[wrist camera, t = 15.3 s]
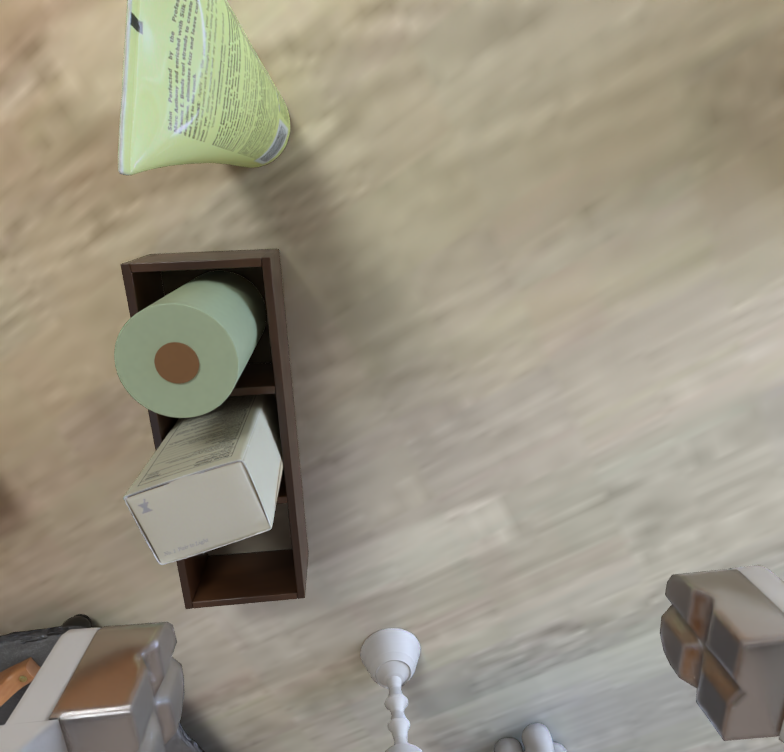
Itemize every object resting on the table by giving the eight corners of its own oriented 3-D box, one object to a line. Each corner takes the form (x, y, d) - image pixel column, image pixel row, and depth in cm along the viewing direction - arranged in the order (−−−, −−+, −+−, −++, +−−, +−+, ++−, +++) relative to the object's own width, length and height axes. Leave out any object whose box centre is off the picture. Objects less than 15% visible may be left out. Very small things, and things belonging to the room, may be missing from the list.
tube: (181, 95, 32) (-36, -39, 13) (254, 47, 31) (136, -162, 13) (238, 185, 34) (118, 176, 15) (309, 140, 33) (273, 75, 15)
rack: (279, 248, 35) (270, 257, 30) (308, 553, 42) (305, 598, 38) (149, 254, 34) (120, 263, 30) (202, 562, 42) (185, 609, 37)
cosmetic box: (209, 459, 39) (155, 571, 28) (183, 404, 38) (116, 497, 26) (293, 433, 39) (275, 534, 28) (271, 377, 38) (242, 458, 26)
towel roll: (262, 268, 35) (230, 300, 25) (271, 352, 37) (245, 415, 27) (172, 272, 35) (101, 306, 24) (186, 356, 37) (125, 422, 26)
